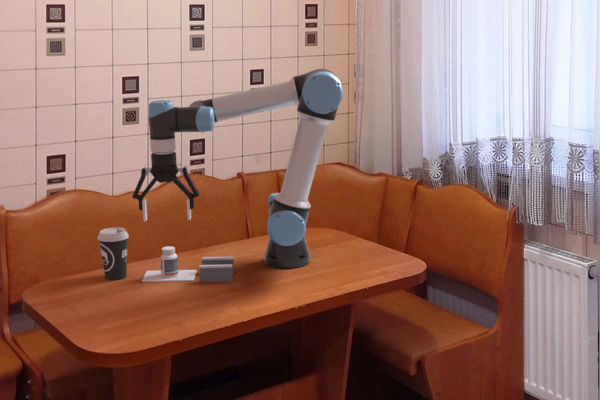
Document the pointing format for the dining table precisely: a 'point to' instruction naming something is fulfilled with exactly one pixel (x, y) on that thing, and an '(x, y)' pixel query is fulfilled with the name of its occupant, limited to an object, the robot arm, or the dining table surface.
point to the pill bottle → (169, 262)
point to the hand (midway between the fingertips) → (167, 219)
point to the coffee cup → (114, 252)
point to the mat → (157, 277)
